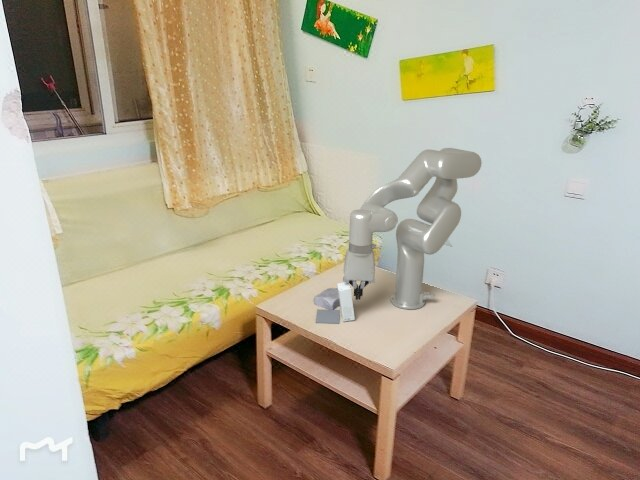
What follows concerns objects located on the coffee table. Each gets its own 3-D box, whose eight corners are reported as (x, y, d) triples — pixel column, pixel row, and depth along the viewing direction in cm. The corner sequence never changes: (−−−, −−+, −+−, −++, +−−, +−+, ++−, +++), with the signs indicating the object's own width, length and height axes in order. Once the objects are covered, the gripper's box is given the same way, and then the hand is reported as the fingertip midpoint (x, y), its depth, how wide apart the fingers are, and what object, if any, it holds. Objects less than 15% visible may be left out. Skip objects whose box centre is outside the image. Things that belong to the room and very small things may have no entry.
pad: (339, 310, 165) (339, 309, 165) (339, 323, 157) (339, 322, 157) (317, 310, 166) (317, 309, 166) (315, 323, 157) (315, 322, 157)
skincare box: (355, 320, 158) (351, 288, 154) (343, 322, 158) (338, 291, 154) (352, 311, 164) (348, 281, 159) (340, 313, 164) (336, 283, 159)
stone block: (311, 308, 171) (333, 311, 165) (309, 296, 170) (331, 299, 164) (330, 298, 180) (351, 300, 174) (328, 286, 179) (350, 288, 173)
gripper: (382, 244, 155) (379, 293, 161) (337, 242, 155) (336, 292, 162) (384, 252, 148) (380, 303, 154) (337, 250, 148) (335, 302, 155)
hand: (357, 297), depth 158 cm, fingers closed
